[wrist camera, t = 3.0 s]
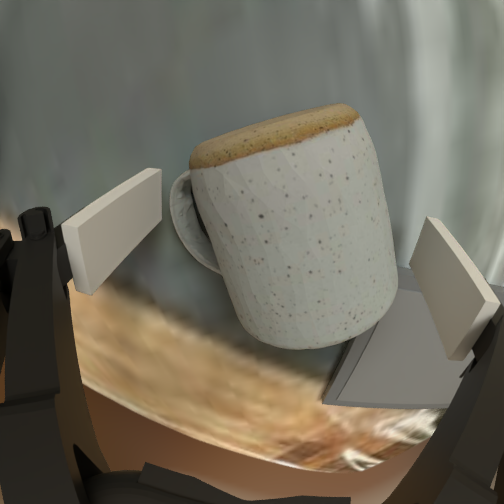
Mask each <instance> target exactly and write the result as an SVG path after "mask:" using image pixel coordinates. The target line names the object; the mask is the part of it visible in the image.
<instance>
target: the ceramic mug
mask: <svg viewBox="0 0 504 504" xmlns="http://www.w3.org/2000/svg"><path fill="white" fill-rule="evenodd" d="M189 168H190V169H189V170H187V171H186V172H184V173H183V174H181V175H180V176H179V177H178V178H177V179H176V180H175V181H174V183H173V185H172V188H171V191H170V198H169V206H170V213H171V217H172V221H173V224H174V227H175V230H176V232H177V234H178V236H179V238H180V239H181V241H182V243H183V244H184V246H185V247H186V249H187V250H188V251H189V252H190V253H191V255H192V256H193V257H194V258H195V259H196V260H198V261H199V262H200V263H202V264H203V265H204V266H206V267H207V268H209V269H211V270H213V271H215V272H216V273H218V274H220V275H222V276H223V279H224V282H225V284H226V287H227V290H228V292H229V295H230V298H231V301H232V303H233V306H234V309H235V311H236V314H237V317H238V319H239V321H240V322H241V324H242V326H243V328H244V329H245V330H246V331H247V332H248V333H249V334H251V335H252V336H253V337H255V338H256V339H257V340H259V341H261V342H264V343H266V344H269V345H272V346H275V347H278V348H284V349H293V350H303V349H317V348H323V347H327V346H331V345H335V344H339V343H342V342H344V341H346V340H349V339H351V338H354V337H356V336H358V335H360V334H362V333H363V332H365V331H366V330H368V329H370V328H371V327H372V326H374V325H375V324H376V323H377V322H378V321H379V320H380V319H381V318H382V317H383V316H384V315H385V314H386V312H387V311H388V310H389V308H390V306H391V305H392V303H393V301H394V298H395V296H396V293H397V288H398V273H397V266H396V260H395V252H394V244H393V237H392V230H391V224H390V218H389V213H388V208H387V203H386V199H385V195H384V190H383V184H382V179H381V174H380V169H379V164H378V159H377V155H376V151H375V148H374V145H373V142H372V140H371V138H370V136H369V133H368V131H367V129H366V127H365V124H364V122H363V119H362V118H361V116H360V115H359V114H358V112H357V111H355V110H354V109H353V108H351V107H349V106H348V105H346V104H341V103H336V104H330V105H325V106H320V107H316V108H312V109H307V110H303V111H299V112H295V113H291V114H287V115H283V116H280V117H276V118H273V119H269V120H266V121H263V122H259V123H256V124H252V125H249V126H246V127H243V128H240V129H237V130H234V131H231V132H228V133H226V134H223V135H220V136H217V137H215V138H212V139H210V140H207V141H204V142H202V143H201V144H199V145H198V146H196V147H195V148H194V150H193V152H192V154H191V156H190V160H189ZM191 187H192V189H193V194H194V198H195V201H196V204H197V208H198V210H199V213H200V215H201V218H202V220H203V223H204V225H205V228H206V230H207V232H208V235H209V237H210V240H211V241H209V239H208V238H207V237H206V235H205V234H204V233H203V231H202V229H201V227H200V225H199V222H198V219H197V216H196V212H195V209H194V206H193V199H192V196H191Z"/></svg>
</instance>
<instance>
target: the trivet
mask: <svg viewBox="0 0 504 504" xmlns="http://www.w3.org/2000/svg"><path fill="white" fill-rule="evenodd" d="M397 273H398V288H397V293H396V296H395V298H394V301H393V303H392V305H391V306H390V308H389V310H388V311H387V312H386V314H385V315H384V316H383V317H382V318H381V319H380V320H379V321H378V322H377V323H376V324H375V325H374V326H372V327H371V328H370V329H368V330H366V331H365V332H363V333H362V334H360V335H358V336H356V337H354V338H351V339H350V341H349V343H348V346H347V348H346V350H345V352H344V354H343V356H342V358H341V360H340V362H339V365H338V367H337V369H336V371H335V373H334V375H333V377H332V379H331V381H330V382H329V384H328V386H327V388H326V390H325V392H324V394H323V396H322V404H327V405H338V406H350V407H366V408H389V409H435V408H448V407H449V405H450V403H451V401H452V399H453V397H454V395H455V393H456V391H457V389H458V387H459V385H460V383H461V381H462V379H463V377H464V376H463V377H462V378H460V377H459V376H460V375H461V374H462V373H463V371H464V370H465V369H466V368H467V366H468V365H469V364H470V362H471V361H472V360H473V358H474V357H475V356H474V353H473V351H472V349H471V351H470V352H469V354H468V355H467V356H466V358H465V359H464V360H463V361H453V360H448V358H447V355H446V353H445V350H444V347H443V344H442V341H441V339H440V336H439V333H438V331H437V328H436V325H435V323H434V320H433V318H432V315H431V313H430V310H429V308H428V305H427V303H426V301H425V298H424V296H423V294H422V291H421V289H420V287H419V285H418V282H417V280H416V278H415V276H414V273H413V271H412V269H408V268H402V267H397ZM489 285H490V288H492V289H493V291H494V294H496V296H497V297H498V299H499V300H500V302H501V303H502V305H503V307H504V287H501V286H496V285H491V284H489Z"/></svg>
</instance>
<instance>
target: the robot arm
mask: <svg viewBox="0 0 504 504" xmlns="http://www.w3.org/2000/svg"><path fill="white" fill-rule="evenodd" d="M161 220H162V199H161V169H154V168H147V169H145V170H143V171H142V172H140V173H138V174H137V175H135V176H133V177H132V178H130V179H128V180H127V181H125V182H124V183H122V184H120V185H119V186H117V187H116V188H114V189H112V190H111V191H109V192H108V193H106V194H105V195H103V196H102V197H100V198H98V199H97V200H95V201H94V202H92V203H91V204H89V205H88V206H86V207H84V208H82V209H81V210H79V211H78V212H76V214H74V215H72V216H71V217H70V218H68V219H66V220H65V221H64V222H62V223H61V224H60V225H58V226H57V227H55V228H54V227H53V222H52V216H51V211H50V208H48V207H35V208H32V209H29V210H27V211H25V212H23V213H22V214H20V215H19V217H18V223H19V227H20V231H21V236H22V241H13V240H12V236H11V232H10V230H8V229H1V230H0V373H1V369H2V365H3V362H4V358H5V402H4V403H0V485H1V490H2V495H3V500H4V504H350V501H351V498H350V497H317V496H295V497H287V498H280V499H279V498H278V499H268V500H255V501H247V500H242V499H240V498H237V497H235V496H232V495H230V494H228V493H226V492H223V491H221V490H219V489H217V488H215V487H213V486H211V485H209V484H207V483H205V482H202V481H201V480H199V479H197V478H195V477H192V476H188V475H184V474H181V473H178V472H174V471H171V470H168V469H165V468H162V467H158V466H156V465H153V464H149V463H147V462H145V465H144V467H143V470H142V471H138V470H121V471H112V472H111V470H110V468H109V466H108V464H107V462H106V460H105V458H104V456H103V454H102V452H101V450H100V448H99V445H98V442H97V439H96V435H95V432H94V429H93V425H92V421H91V418H90V414H89V410H88V407H87V402H86V398H85V393H84V389H83V384H82V380H81V375H80V369H79V364H78V358H77V353H76V346H75V340H74V333H73V325H72V317H71V307H70V297H69V289H68V286H67V283H68V282H69V281H70V280H71V279H72V278H73V281H74V285H75V289H76V291H79V292H82V293H85V294H88V295H92V294H93V293H94V292H95V291H96V290H97V289H98V287H99V286H100V285H101V284H102V283H103V282H104V281H105V280H106V278H107V277H108V276H109V275H110V274H111V273H112V272H113V271H114V270H115V268H116V267H117V266H118V265H119V264H120V263H121V262H122V261H123V260H124V259H125V258H126V256H127V255H128V254H129V253H130V252H131V251H132V250H133V249H134V248H135V247H136V246H137V245H138V244H139V243H140V242H141V241H142V239H143V238H144V237H145V236H146V235H147V234H148V233H149V232H150V231H151V230H152V229H153V228H154V227H155V226H156V225H157V224H158V223H159V222H160V221H161ZM409 265H410V267H411V269H412V271H413V273H414V276H415V278H416V280H417V282H418V285H419V287H420V289H421V291H422V294H423V296H424V298H425V301H426V303H427V305H428V308H429V310H430V313H431V315H432V318H433V320H434V323H435V325H436V328H437V331H438V333H439V336H440V339H441V341H442V344H443V347H444V350H445V353H446V355H447V358H448V360H453V361H463V360H464V359H465V358H466V356H467V355H468V354H469V352H470V351H471V349H472V351H473V353H474V356H475V357H474V358H473V360H472V361H471V362H470V364H469V365H468V366H467V368H466V369H465V370H464V371H463V373H462V374H461V375H460V376H459V377H460V378H462V377H463V376H464V377H463V379H462V381H461V383H460V385H459V387H458V389H457V391H456V393H455V395H454V397H453V399H452V401H451V403H450V405H449V407H448V409H447V411H446V413H445V414H444V416H443V418H442V420H441V421H440V423H439V425H438V427H437V428H436V430H435V432H434V433H433V435H432V437H431V438H430V440H429V442H428V443H427V445H426V446H425V448H424V449H423V451H422V452H421V454H420V456H419V457H418V458H417V460H416V462H415V463H414V464H413V466H412V467H411V469H410V470H409V471H408V473H407V474H406V476H405V477H404V478H403V479H402V481H401V482H400V484H399V485H398V486H397V487H396V489H395V490H394V491H393V492H392V494H391V495H390V496H389V497H388V498H387V499H386V500H385V501H384V502H383V503H382V504H504V307H503V305H502V303H501V302H500V300H499V299H498V297H497V296H496V294H494V291H493V289H492V288H490V285H489V284H488V282H487V281H486V279H485V278H484V277H483V276H482V275H481V273H480V272H479V270H478V269H477V267H476V266H475V265H474V263H473V262H472V261H471V259H470V258H469V257H468V255H467V254H466V253H465V251H464V250H463V249H462V247H461V246H460V245H459V243H458V242H457V241H456V240H455V238H454V237H453V236H452V235H451V233H450V232H449V231H448V230H447V228H446V227H445V226H444V225H443V224H442V222H441V221H440V220H439V219H435V218H432V217H428V216H426V219H425V222H424V225H423V228H422V231H421V233H420V236H419V239H418V242H417V244H416V247H415V250H414V252H413V255H412V258H411V260H410V263H409ZM497 468H498V471H497ZM496 471H497V477H496V482H495V487H494V490H492V489H491V488H490V486H491V483H492V480H493V478H494V475H495V473H496Z"/></svg>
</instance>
